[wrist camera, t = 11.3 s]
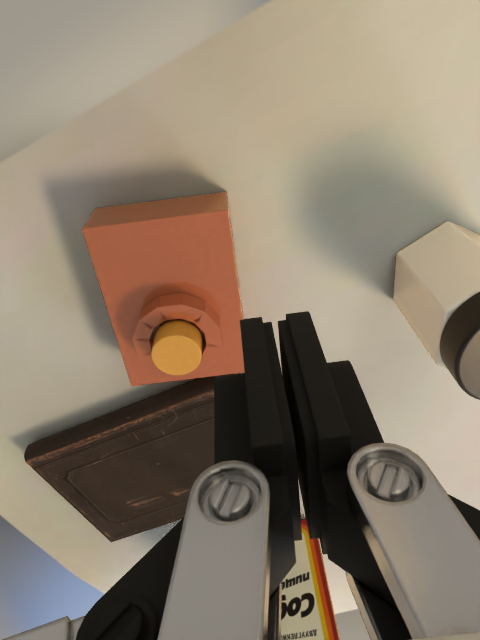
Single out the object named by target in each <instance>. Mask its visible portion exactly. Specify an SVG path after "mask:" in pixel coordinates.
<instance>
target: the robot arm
mask: <svg viewBox="0 0 480 640" xmlns="http://www.w3.org/2000/svg"><path fill="white" fill-rule="evenodd" d="M240 328H241V339H242V350H243V360H244V371H245V373H240V374H232V375H224V376H216V377H215V378H214V465H212V466H210V467H209V468H208V469H206V470H205V471H203V472H202V473H201V474H200V475H199V476H198V478H197V479H196V480H195V481H194V483H193V486H192V488H191V491H190V494H189V499H188V504H187V508H186V513H185V517H184V518H183V519H182V520H181V521H180V522H179V523H178V524H177V525H176V526H174V527H173V528H172V529H171V530H170V531H169V532H168V533H167V534H166V535H165V536H164V537H163V538H162V539H161V540H160V541H159V542H158V543H157V544H156V545H155V546H154V547H153V548H152V549H151V550H150V551H149V552H148V553H147V554H146V555H145V556H144V557H143V558H142V559H141V560H140V561H138V562H137V563H136V564H135V565H134V566H133V567H132V568H131V569H130V570H129V571H128V572H127V573H126V574H125V575H124V576H123V577H122V578H121V579H120V580H119V581H118V582H117V583H116V584H115V585H114V586H113V587H112V588H111V589H110V590H109V591H108V592H107V593H106V594H105V595H103V596H102V597H101V598H100V599H99V600H98V601H97V602H96V603H95V605H94V606H93V607H92V608H91V610H90V611H89V612H88V613H87V614H86V616H83V617H80V618H77V619H75V620H72V621H71V620H70V619H69V617H68V616H66V617H63V618H61V619H58V620H55V621H52V622H49V623H47V624H44V625H41V626H38V627H36V628H33V629H30V630H27V631H25V632H22V633H19V634H16V635H13V636H11V637H8V638H5V639H2V640H281V602H282V587H281V582H282V581H283V579H284V578H285V577H286V575H287V574H288V573H289V571H290V570H291V569H292V567H293V566H294V565H295V564H296V554H295V542H294V541H299V540H302V528H301V514H300V500H299V485H300V490H301V495H302V500H303V506H304V511H305V516H306V521H307V526H308V532H309V536H310V539H316V538H320V543H321V548H322V553H323V554H328V559H329V560H331V561H332V562H334V563H335V564H336V565H338V566H339V567H341V568H342V569H343V570H345V572H346V577H347V581H348V584H349V586H350V589H351V591H352V594H353V596H354V599H355V601H356V604H357V606H358V609H359V611H360V614H361V616H362V619H363V621H364V624H365V626H366V629H367V631H368V634H369V636H370V639H371V640H480V511H479V510H478V509H476V508H474V507H472V506H470V505H468V504H466V503H464V502H462V501H460V500H458V499H456V498H454V497H452V496H450V495H448V494H447V493H446V491H445V490H444V488H443V487H442V486H441V484H440V483H439V481H438V480H437V478H436V477H435V476H434V474H433V473H432V471H431V470H430V468H429V467H428V466H427V464H426V463H425V462H424V461H423V460H422V459H421V458H420V457H419V456H418V455H417V454H415V453H414V452H412V451H411V450H409V449H407V448H405V447H402V446H399V445H396V444H389V443H384V441H383V439H382V436H381V434H380V431H379V429H378V427H377V424H376V422H375V420H374V417H373V415H372V412H371V410H370V408H369V405H368V403H367V400H366V398H365V396H364V393H363V391H362V388H361V386H360V384H359V381H358V379H357V376H356V374H355V372H354V369H353V367H352V365H351V363H350V362H349V361H348V360H347V361H339V362H331V363H327V362H326V359H325V356H324V354H323V351H322V348H321V345H320V342H319V339H318V336H317V333H316V330H315V327H314V325H313V322H312V319H311V316H310V313H309V312H308V311H307V312H299V313H291V314H286V320H283V321H278V329H279V341H280V353H281V365H282V372H281V367H280V362H279V357H278V352H277V348H276V343H275V338H274V333H273V328H272V323H271V322H267V323H263V321H262V317H259V318H251V319H243V320H240ZM298 480H299V485H298Z"/></svg>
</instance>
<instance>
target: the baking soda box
mask: <svg viewBox="0 0 480 640" xmlns="http://www.w3.org/2000/svg"><path fill="white" fill-rule="evenodd" d="M301 528H302V540H299V541H294V542H295V554H296V564H295V565H294V566H293V567H292V569H291V570H290V571H289V573H288V574H287V575H286V577H285V578H284V579H283V581H282V582H281V587H282V602H281V640H340V639H339V635H338V629H337V625H336V620H335V615H334V610H333V605H332V601H331V596H330V591H329V586H328V581H327V577H326V572H325V567H324V562H323V558H322V553H321V548H320V544H319V539H318V538H316V539H310V536H309V532H308V526H307V521H306V519H302V520H301Z"/></svg>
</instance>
